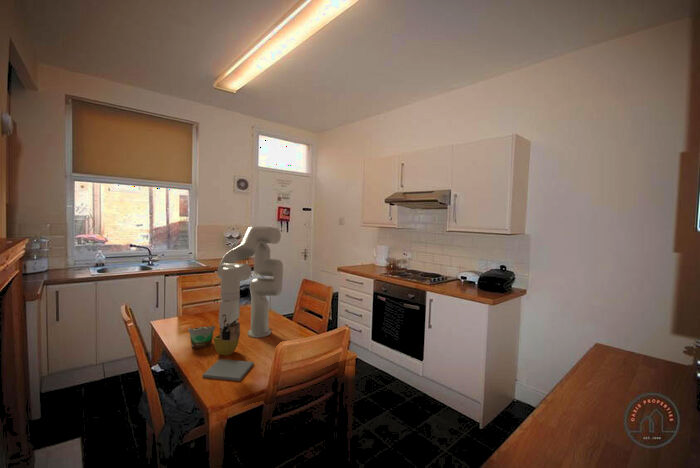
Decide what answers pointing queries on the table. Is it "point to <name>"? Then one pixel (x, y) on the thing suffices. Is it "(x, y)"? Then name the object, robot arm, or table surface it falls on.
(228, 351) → the flower pot
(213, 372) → the slate board
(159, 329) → the table surface
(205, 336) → the food container
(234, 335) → the walnut cube
